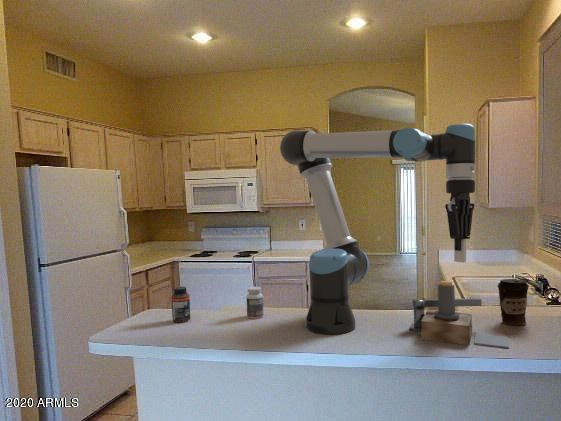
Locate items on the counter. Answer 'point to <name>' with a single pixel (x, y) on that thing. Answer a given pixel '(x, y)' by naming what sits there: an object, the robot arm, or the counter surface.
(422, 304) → the grey long bar
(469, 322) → the socket
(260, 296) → the pill bottle
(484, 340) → the mat
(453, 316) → the plug
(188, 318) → the supplement bottle
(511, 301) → the coffee cup
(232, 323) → the counter surface
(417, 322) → the post
